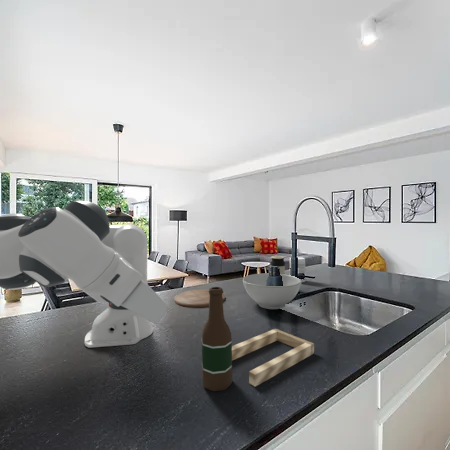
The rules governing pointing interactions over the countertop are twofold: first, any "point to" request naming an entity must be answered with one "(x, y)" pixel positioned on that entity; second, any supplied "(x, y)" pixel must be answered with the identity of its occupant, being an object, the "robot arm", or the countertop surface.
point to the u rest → (279, 363)
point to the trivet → (194, 298)
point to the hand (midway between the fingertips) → (157, 316)
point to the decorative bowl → (271, 290)
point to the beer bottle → (216, 346)
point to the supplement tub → (300, 266)
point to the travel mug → (278, 263)
